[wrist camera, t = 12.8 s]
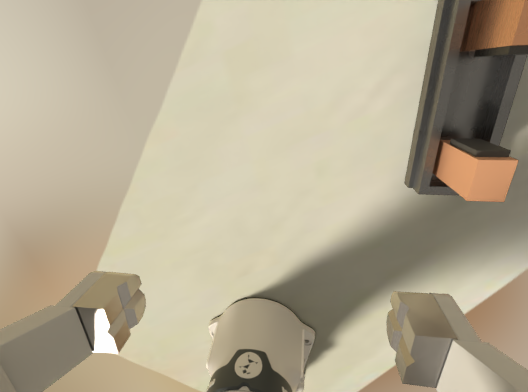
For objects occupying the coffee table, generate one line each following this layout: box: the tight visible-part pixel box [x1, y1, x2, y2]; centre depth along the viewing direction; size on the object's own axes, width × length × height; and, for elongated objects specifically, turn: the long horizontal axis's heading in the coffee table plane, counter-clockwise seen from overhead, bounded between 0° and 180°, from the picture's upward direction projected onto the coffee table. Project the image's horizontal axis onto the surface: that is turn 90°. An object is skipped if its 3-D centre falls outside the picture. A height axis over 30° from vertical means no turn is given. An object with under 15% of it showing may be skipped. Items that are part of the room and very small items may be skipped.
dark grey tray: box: [405, 0, 528, 195], centre depth 28 cm, size 20×8×10 cm, turn 2°
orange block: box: [432, 139, 518, 202], centre depth 29 cm, size 5×3×8 cm
